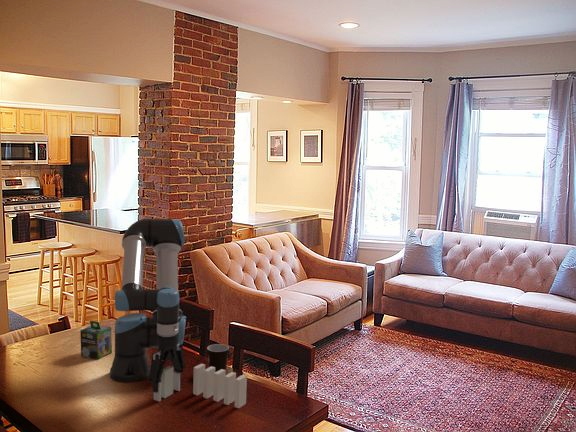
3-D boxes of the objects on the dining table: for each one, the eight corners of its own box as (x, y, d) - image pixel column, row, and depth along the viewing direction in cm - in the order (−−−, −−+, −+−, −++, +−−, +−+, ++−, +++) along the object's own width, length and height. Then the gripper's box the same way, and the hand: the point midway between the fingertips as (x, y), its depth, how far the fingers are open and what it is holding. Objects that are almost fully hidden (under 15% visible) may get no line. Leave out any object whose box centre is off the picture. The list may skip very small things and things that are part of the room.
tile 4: (213, 400, 186) (214, 373, 185) (220, 395, 190) (221, 369, 189) (217, 401, 185) (218, 374, 184) (224, 397, 189) (225, 370, 188)
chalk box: (112, 352, 227) (112, 319, 226) (97, 360, 219) (97, 325, 217) (95, 349, 231) (95, 316, 229) (79, 356, 222) (79, 322, 220)
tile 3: (203, 397, 188) (203, 370, 187) (210, 392, 192) (211, 366, 191) (207, 398, 187) (207, 371, 186) (214, 394, 191) (215, 367, 190)
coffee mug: (224, 377, 206) (225, 352, 205) (203, 375, 207) (203, 350, 206) (233, 366, 217) (234, 342, 216) (213, 364, 219) (214, 340, 218)
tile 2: (193, 394, 190) (193, 367, 189) (200, 389, 194) (201, 363, 193) (197, 395, 189) (197, 368, 188) (204, 391, 193) (205, 364, 192)
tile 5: (223, 403, 184) (224, 376, 183) (231, 399, 188) (231, 371, 187) (228, 405, 183) (228, 377, 182) (235, 400, 187) (236, 372, 186)
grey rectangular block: (234, 407, 182) (235, 379, 181) (241, 402, 185) (242, 374, 184) (238, 408, 181) (239, 380, 180) (246, 403, 185) (246, 375, 184)
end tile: (160, 397, 187) (161, 369, 186) (169, 392, 191) (169, 365, 190) (164, 398, 186) (165, 370, 185) (173, 393, 190) (173, 366, 189)
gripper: (153, 344, 175) (153, 409, 177) (196, 327, 194) (195, 386, 196) (136, 340, 179) (136, 404, 181) (180, 323, 198) (179, 381, 200)
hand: (167, 394), depth 189 cm, fingers open, 9 cm apart
